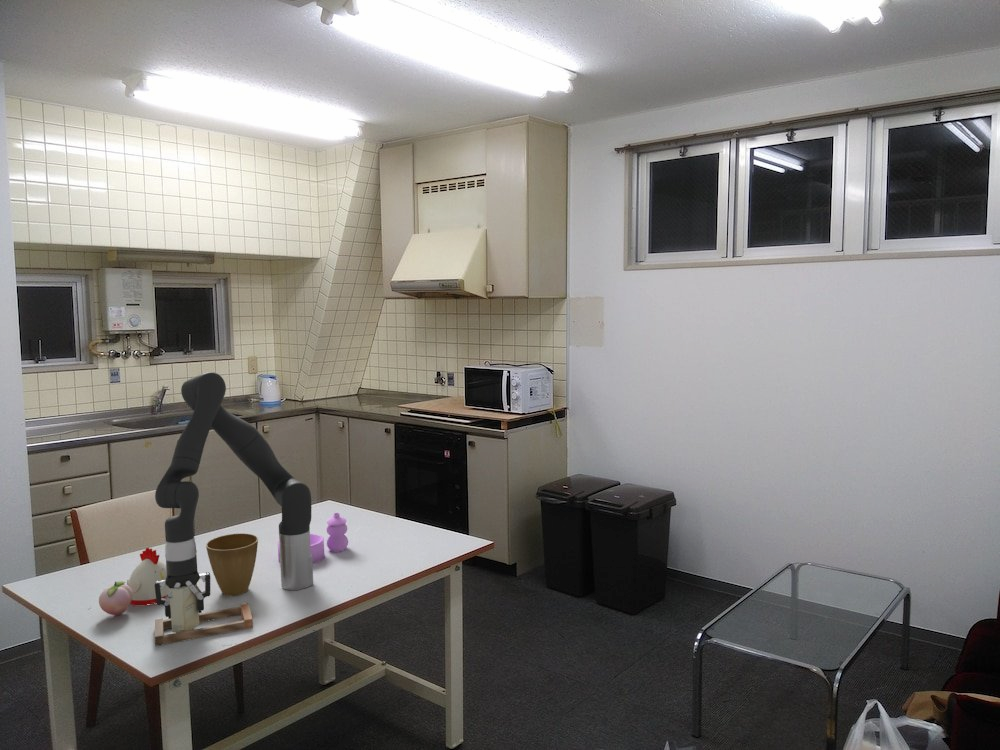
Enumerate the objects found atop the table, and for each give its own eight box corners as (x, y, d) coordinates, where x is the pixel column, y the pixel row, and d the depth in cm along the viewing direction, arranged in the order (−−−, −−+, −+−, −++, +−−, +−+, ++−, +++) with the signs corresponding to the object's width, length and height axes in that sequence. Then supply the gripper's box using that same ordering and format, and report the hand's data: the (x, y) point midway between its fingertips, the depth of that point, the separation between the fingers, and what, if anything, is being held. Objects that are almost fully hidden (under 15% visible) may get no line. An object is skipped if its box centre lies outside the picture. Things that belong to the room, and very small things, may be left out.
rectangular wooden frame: (248, 611, 209) (247, 603, 209) (252, 627, 199) (252, 618, 198) (155, 628, 199) (154, 619, 198) (155, 646, 188) (154, 636, 188)
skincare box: (185, 634, 193) (183, 589, 192) (171, 632, 194) (168, 588, 193) (200, 623, 199) (197, 580, 198) (185, 622, 200) (183, 579, 199)
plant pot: (205, 588, 226) (202, 538, 225) (255, 579, 234) (252, 530, 232) (212, 605, 213) (209, 552, 212) (265, 595, 221) (262, 543, 219)
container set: (289, 569, 242) (288, 531, 240) (271, 558, 254) (269, 520, 252) (357, 552, 258) (356, 516, 256) (337, 542, 269) (336, 507, 268)
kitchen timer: (145, 609, 212) (142, 559, 210) (116, 600, 218) (112, 551, 217) (186, 592, 224) (183, 544, 222) (157, 584, 231) (154, 538, 229)
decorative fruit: (105, 610, 211) (103, 577, 210) (136, 607, 213) (134, 574, 212) (95, 624, 202) (93, 589, 201) (127, 621, 204) (125, 586, 203)
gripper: (209, 546, 201) (212, 604, 203) (151, 555, 195) (155, 614, 197) (210, 555, 194) (214, 615, 196) (151, 564, 188) (155, 625, 190)
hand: (184, 614), depth 196 cm, fingers closed on skincare box, 7 cm apart
